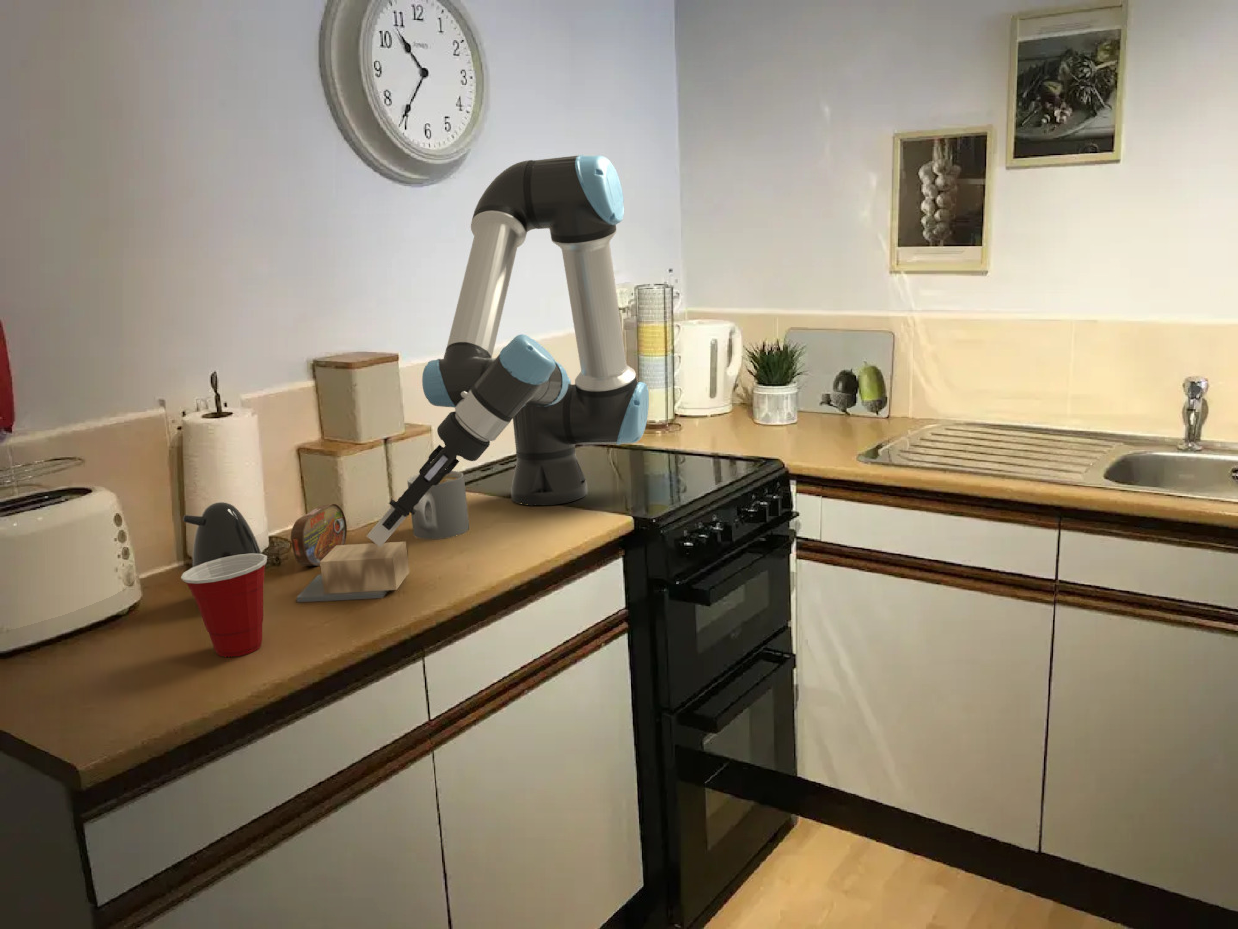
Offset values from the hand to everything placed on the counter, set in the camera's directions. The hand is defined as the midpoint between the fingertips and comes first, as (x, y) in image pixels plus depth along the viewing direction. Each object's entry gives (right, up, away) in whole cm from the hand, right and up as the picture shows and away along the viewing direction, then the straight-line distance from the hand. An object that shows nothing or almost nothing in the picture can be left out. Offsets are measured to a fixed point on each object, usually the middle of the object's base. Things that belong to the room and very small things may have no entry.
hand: (374, 540), depth 156 cm
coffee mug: (+4, -1, +28) cm, 28 cm away
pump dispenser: (-22, -9, +1) cm, 24 cm away
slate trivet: (-4, -8, +2) cm, 9 cm away
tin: (-13, -5, +19) cm, 23 cm away
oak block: (+4, -4, +1) cm, 6 cm away
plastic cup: (-14, -13, -19) cm, 27 cm away
